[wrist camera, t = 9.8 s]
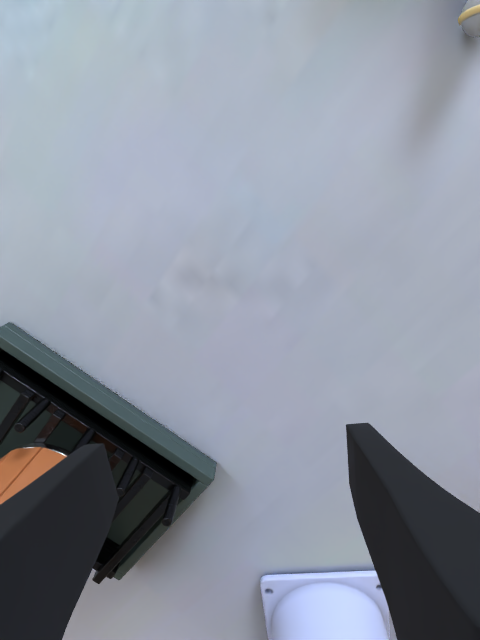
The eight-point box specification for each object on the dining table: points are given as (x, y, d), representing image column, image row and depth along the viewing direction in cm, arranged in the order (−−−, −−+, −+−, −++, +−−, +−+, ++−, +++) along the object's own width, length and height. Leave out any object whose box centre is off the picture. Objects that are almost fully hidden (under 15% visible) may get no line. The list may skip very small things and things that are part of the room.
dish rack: (217, 462, 24) (205, 528, 19) (127, 560, 26) (98, 637, 22) (9, 321, 22) (-59, 356, 17) (-64, 443, 24) (-140, 501, 20)
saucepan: (-19, 446, 21) (-91, 511, 16) (85, 438, 20) (37, 503, 16) (42, 608, 24) (-5, 696, 20) (132, 605, 23) (104, 695, 19)
